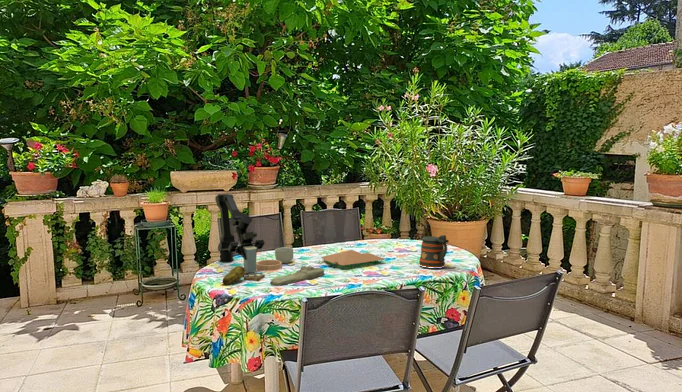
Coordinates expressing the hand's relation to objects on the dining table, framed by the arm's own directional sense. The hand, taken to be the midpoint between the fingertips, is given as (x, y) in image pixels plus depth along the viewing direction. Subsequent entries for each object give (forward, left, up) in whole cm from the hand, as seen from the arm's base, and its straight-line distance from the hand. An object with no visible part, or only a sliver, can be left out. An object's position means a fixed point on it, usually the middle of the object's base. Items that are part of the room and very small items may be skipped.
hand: (251, 259), depth 261 cm
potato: (-2, -16, -9) cm, 19 cm away
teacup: (+6, +34, -9) cm, 36 cm away
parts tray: (+5, -7, -9) cm, 12 cm away
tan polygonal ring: (+3, +17, -9) cm, 19 cm away
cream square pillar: (-1, +1, -7) cm, 7 cm away
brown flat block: (+44, +42, -9) cm, 62 cm away
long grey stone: (+26, 0, -9) cm, 28 cm away
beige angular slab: (+4, -8, -8) cm, 12 cm away
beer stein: (+92, +47, -9) cm, 104 cm away
